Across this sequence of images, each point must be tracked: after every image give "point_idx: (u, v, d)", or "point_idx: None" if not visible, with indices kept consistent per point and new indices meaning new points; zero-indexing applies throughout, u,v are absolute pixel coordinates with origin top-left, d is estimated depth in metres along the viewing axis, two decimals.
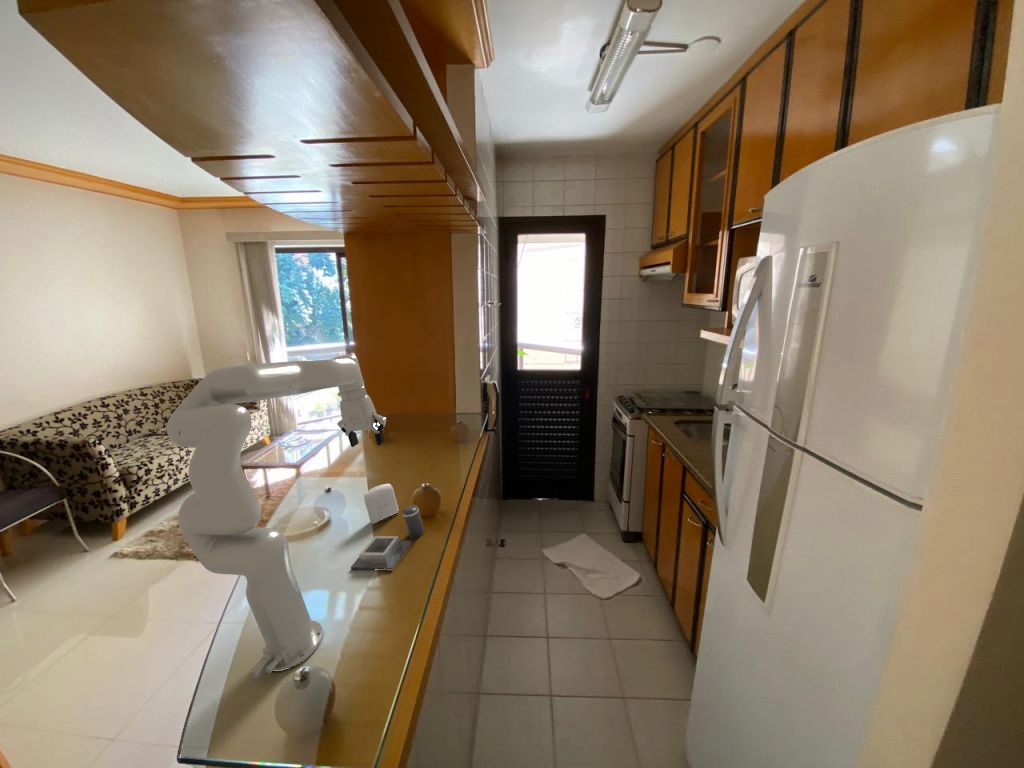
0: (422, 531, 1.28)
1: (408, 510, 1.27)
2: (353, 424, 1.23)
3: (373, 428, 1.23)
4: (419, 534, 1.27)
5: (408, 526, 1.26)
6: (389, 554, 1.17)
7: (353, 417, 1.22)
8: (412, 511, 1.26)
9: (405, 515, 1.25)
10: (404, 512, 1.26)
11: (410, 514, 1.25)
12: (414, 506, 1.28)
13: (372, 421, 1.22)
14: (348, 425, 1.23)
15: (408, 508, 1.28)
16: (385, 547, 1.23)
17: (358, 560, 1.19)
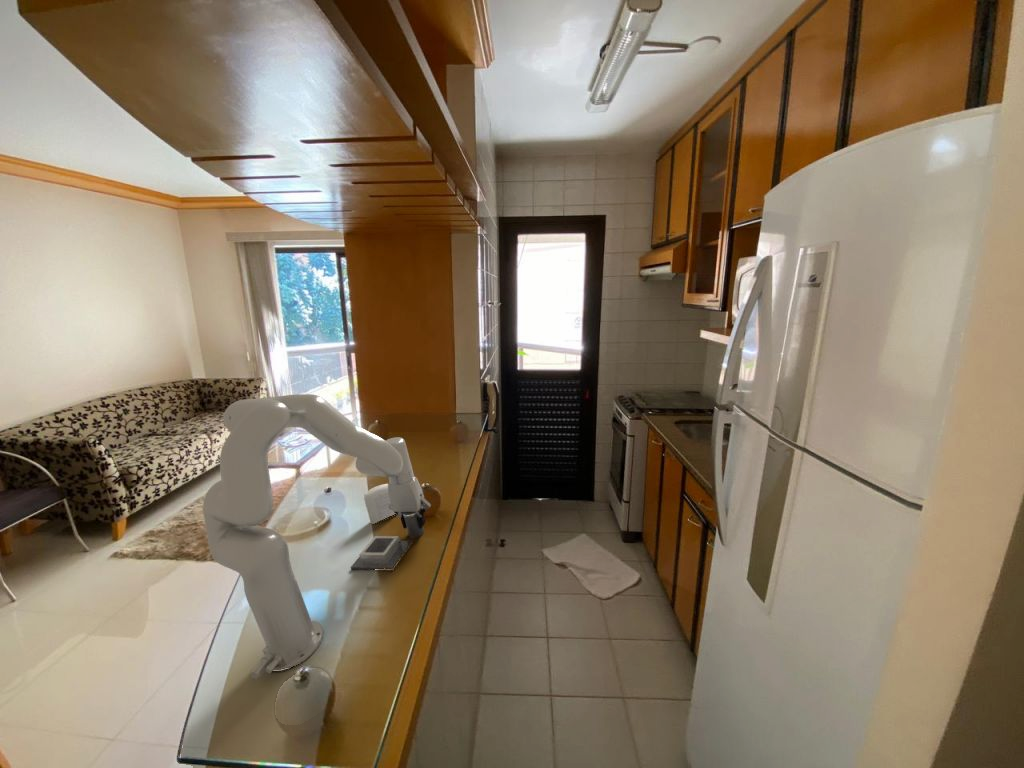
0: (422, 531, 1.28)
1: None
2: (401, 506, 1.24)
3: (417, 512, 1.25)
4: (419, 534, 1.27)
5: (408, 526, 1.26)
6: (389, 554, 1.17)
7: (401, 499, 1.23)
8: None
9: (405, 515, 1.25)
10: (404, 512, 1.26)
11: (410, 514, 1.25)
12: None
13: None
14: (396, 506, 1.25)
15: None
16: (385, 547, 1.23)
17: (358, 560, 1.19)
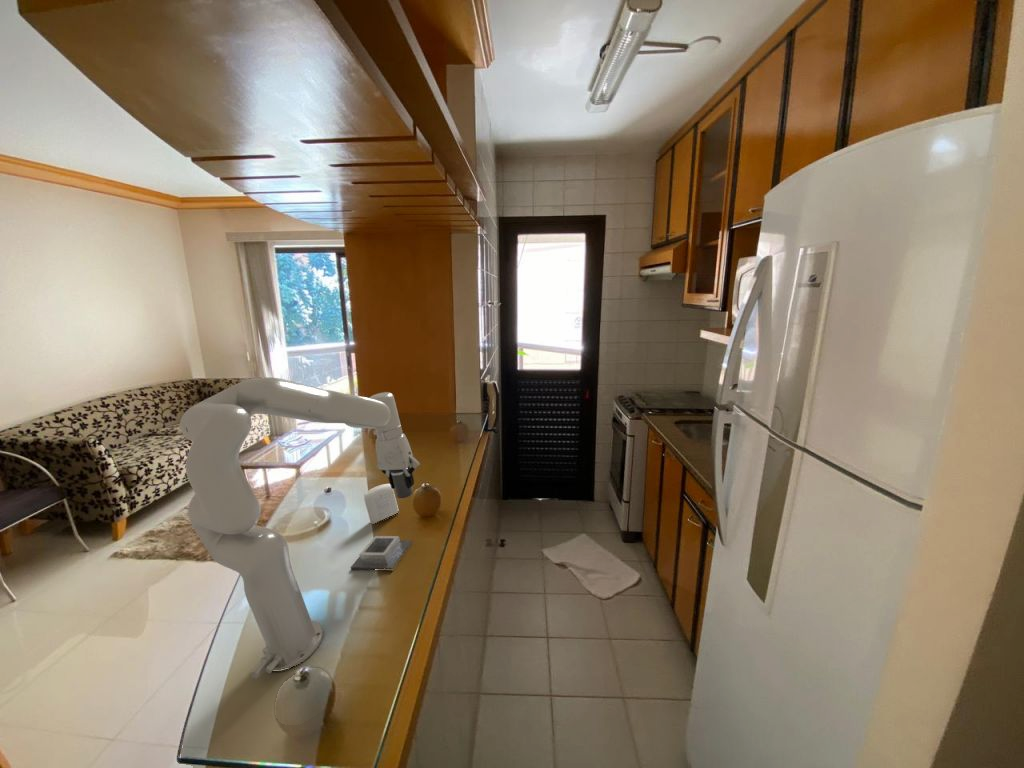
0: (410, 491, 1.24)
1: None
2: (388, 463, 1.20)
3: (405, 470, 1.21)
4: (407, 494, 1.23)
5: (396, 485, 1.22)
6: (389, 554, 1.17)
7: (389, 456, 1.19)
8: (400, 470, 1.22)
9: (393, 473, 1.21)
10: (392, 471, 1.22)
11: (398, 472, 1.21)
12: None
13: None
14: (383, 464, 1.21)
15: None
16: (385, 547, 1.23)
17: (358, 560, 1.19)
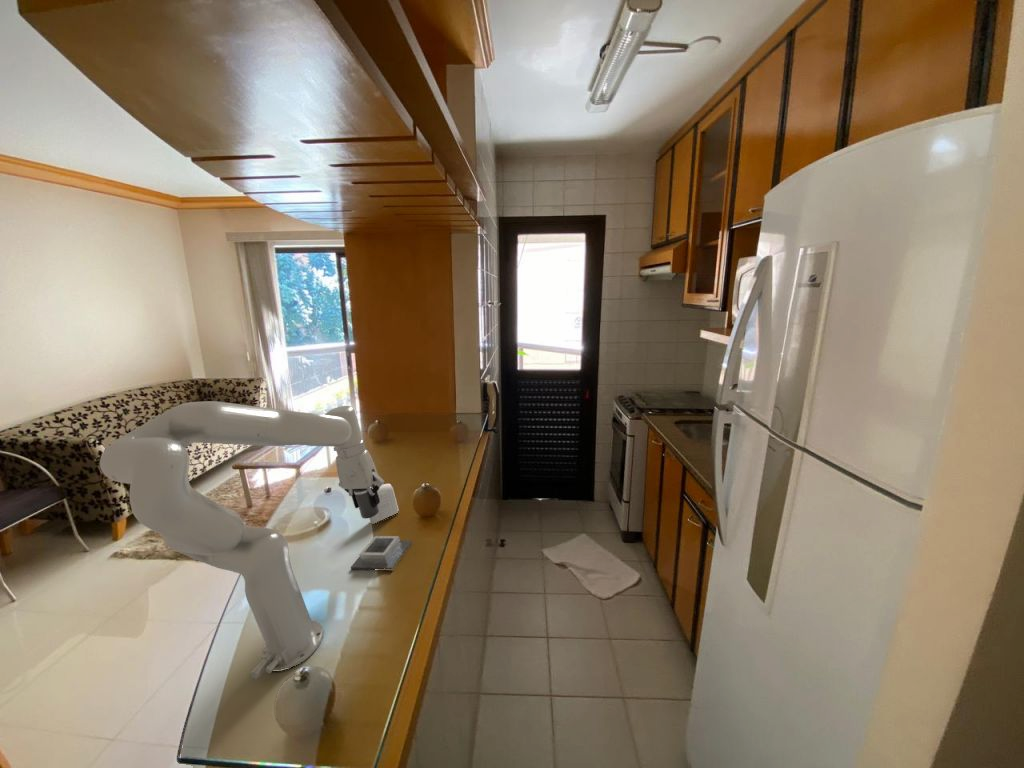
0: (375, 511, 1.16)
1: None
2: (350, 482, 1.12)
3: (369, 489, 1.13)
4: (372, 514, 1.15)
5: (360, 505, 1.14)
6: (389, 554, 1.17)
7: (350, 475, 1.11)
8: None
9: (356, 492, 1.13)
10: (355, 489, 1.14)
11: (361, 491, 1.12)
12: None
13: None
14: (345, 483, 1.12)
15: None
16: (385, 547, 1.23)
17: (358, 560, 1.19)
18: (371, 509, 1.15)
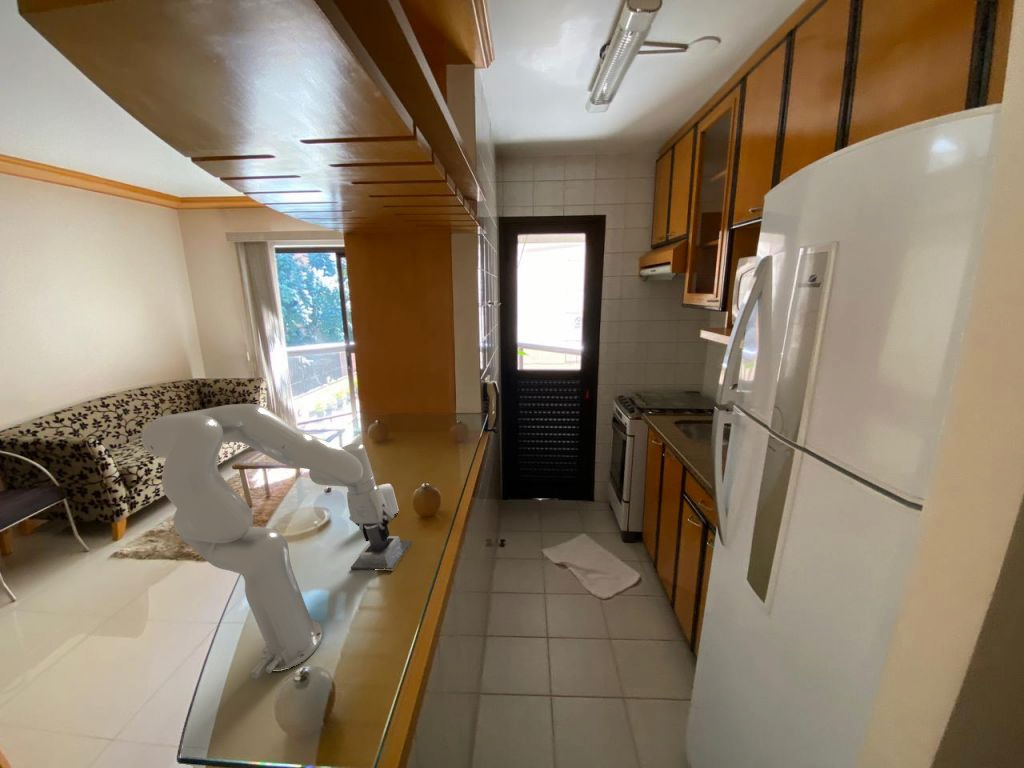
0: (385, 544, 1.19)
1: None
2: (361, 517, 1.15)
3: (379, 523, 1.16)
4: (382, 547, 1.18)
5: (370, 538, 1.17)
6: (389, 554, 1.17)
7: (361, 510, 1.14)
8: None
9: (366, 527, 1.16)
10: None
11: (372, 526, 1.15)
12: None
13: None
14: (356, 518, 1.15)
15: None
16: None
17: (358, 560, 1.19)
18: (381, 542, 1.18)
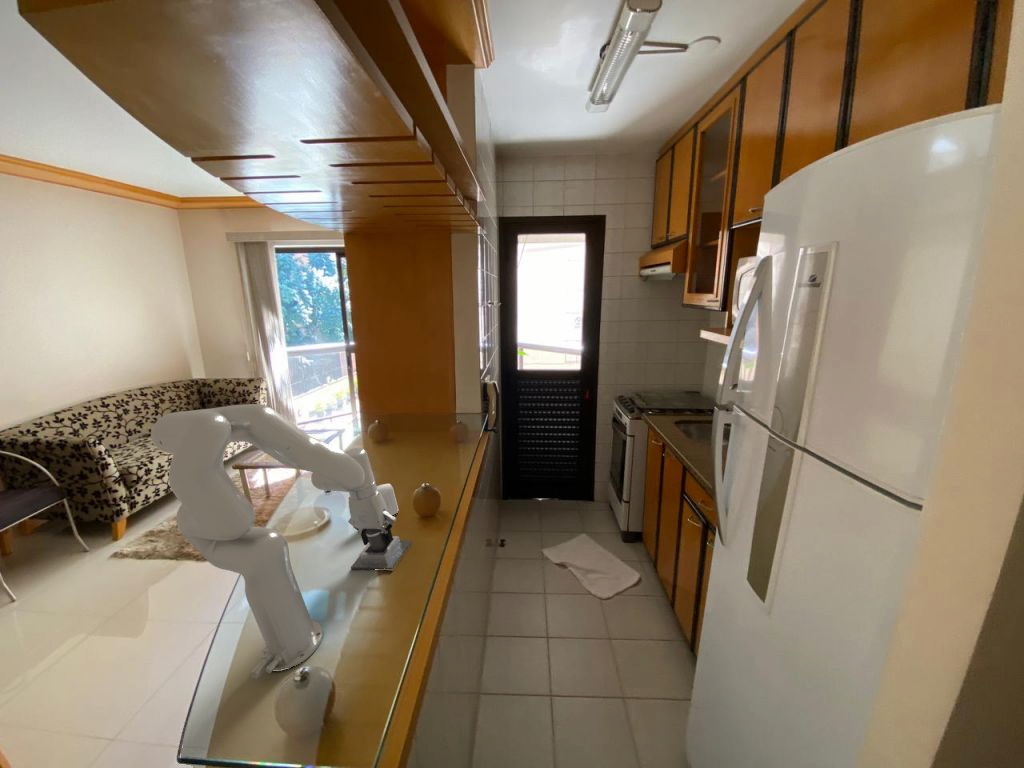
0: None
1: (372, 529, 1.18)
2: (362, 522, 1.15)
3: (382, 527, 1.16)
4: None
5: (372, 546, 1.17)
6: (389, 554, 1.17)
7: (362, 515, 1.14)
8: (376, 530, 1.17)
9: (368, 535, 1.16)
10: (367, 531, 1.17)
11: (374, 534, 1.16)
12: None
13: (383, 521, 1.15)
14: (357, 523, 1.15)
15: None
16: None
17: (358, 560, 1.19)
18: (383, 550, 1.18)
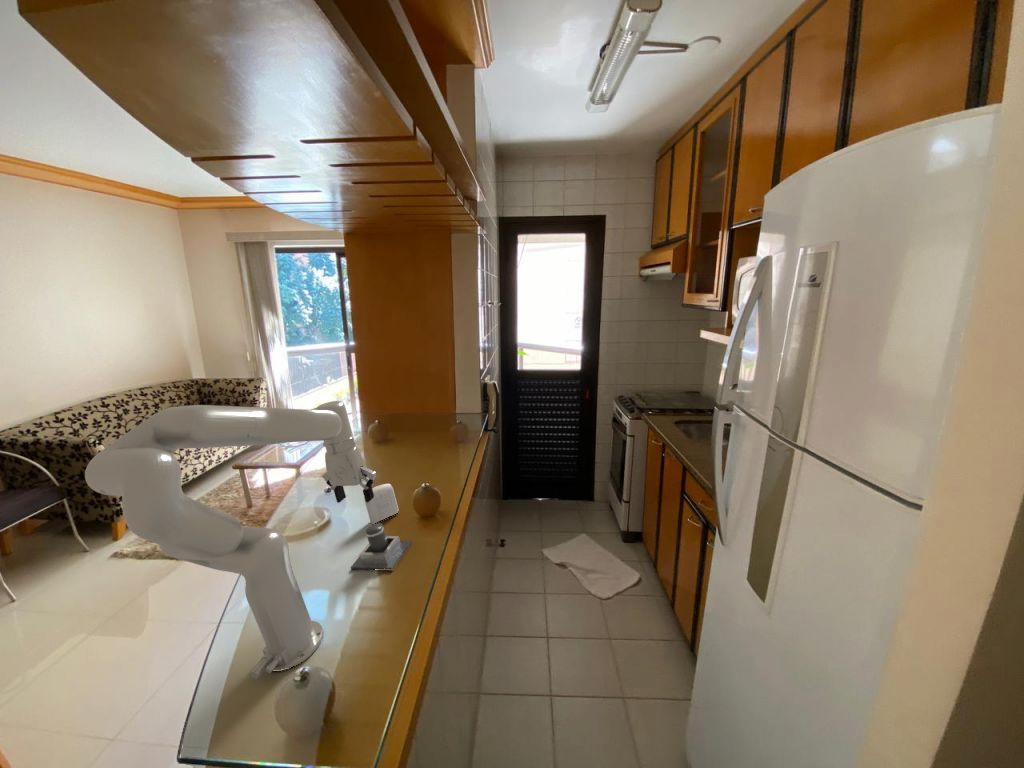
0: None
1: (372, 529, 1.18)
2: (339, 479, 1.10)
3: (361, 483, 1.10)
4: None
5: (372, 546, 1.17)
6: (389, 554, 1.17)
7: (339, 471, 1.09)
8: (376, 530, 1.17)
9: (368, 535, 1.16)
10: (367, 531, 1.17)
11: (373, 534, 1.16)
12: (379, 525, 1.19)
13: (360, 476, 1.09)
14: (333, 479, 1.10)
15: (372, 527, 1.19)
16: None
17: (358, 560, 1.19)
18: (383, 550, 1.18)
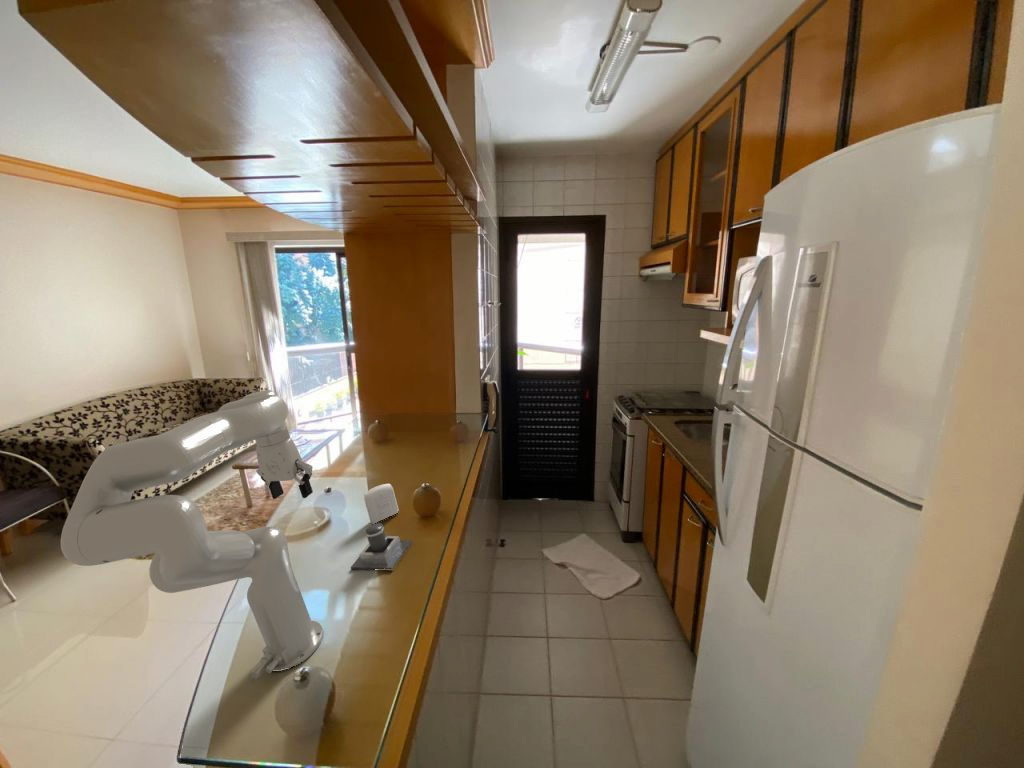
0: None
1: (372, 529, 1.18)
2: (272, 474, 1.02)
3: (296, 478, 1.03)
4: None
5: (372, 546, 1.17)
6: (389, 554, 1.17)
7: (271, 466, 1.02)
8: (376, 530, 1.17)
9: (368, 535, 1.16)
10: (367, 531, 1.17)
11: (373, 534, 1.16)
12: (379, 525, 1.19)
13: (294, 470, 1.02)
14: (266, 475, 1.03)
15: (372, 527, 1.19)
16: None
17: (358, 560, 1.19)
18: (383, 550, 1.18)
